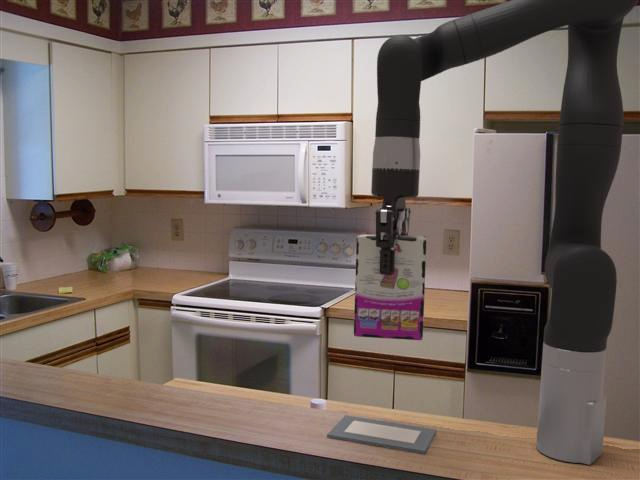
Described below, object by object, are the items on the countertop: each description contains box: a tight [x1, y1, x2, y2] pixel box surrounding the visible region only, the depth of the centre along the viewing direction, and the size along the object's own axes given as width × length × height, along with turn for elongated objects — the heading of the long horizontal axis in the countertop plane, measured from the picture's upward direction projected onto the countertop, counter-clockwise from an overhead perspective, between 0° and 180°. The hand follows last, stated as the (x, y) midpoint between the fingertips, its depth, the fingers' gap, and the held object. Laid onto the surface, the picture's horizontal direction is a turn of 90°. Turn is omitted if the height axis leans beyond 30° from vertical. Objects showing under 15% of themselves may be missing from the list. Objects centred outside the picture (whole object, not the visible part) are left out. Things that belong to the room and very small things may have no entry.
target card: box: [326, 414, 437, 455], centre depth 112 cm, size 16×10×1 cm, turn 70°
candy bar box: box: [353, 233, 427, 341], centre depth 110 cm, size 11×5×16 cm, turn 82°
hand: (391, 271), depth 109 cm, fingers closed on candy bar box, 5 cm apart
